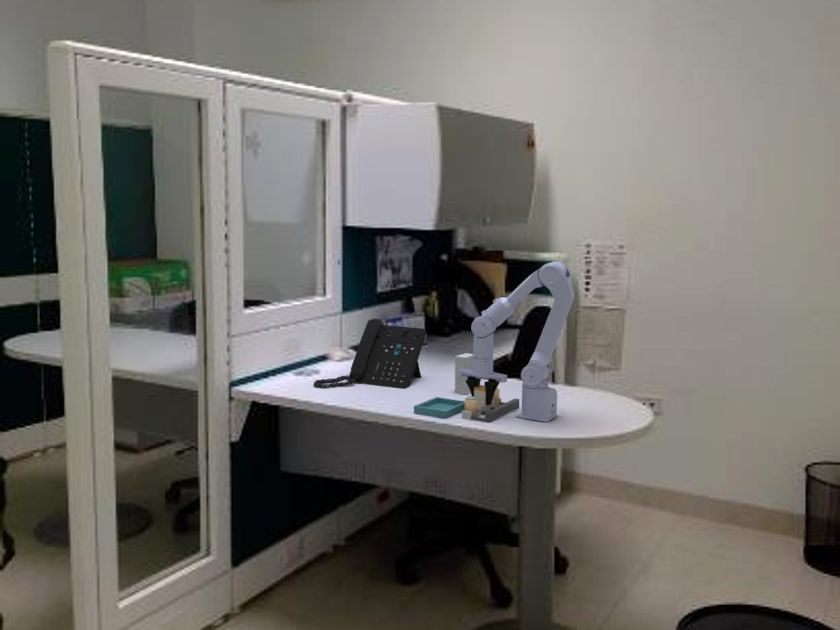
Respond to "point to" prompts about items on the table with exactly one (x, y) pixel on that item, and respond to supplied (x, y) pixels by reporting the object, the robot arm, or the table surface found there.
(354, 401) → the table surface
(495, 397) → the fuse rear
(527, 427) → the table surface
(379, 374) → the office phone
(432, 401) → the tray
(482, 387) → the block
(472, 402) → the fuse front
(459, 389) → the skincare box
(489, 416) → the holder block
